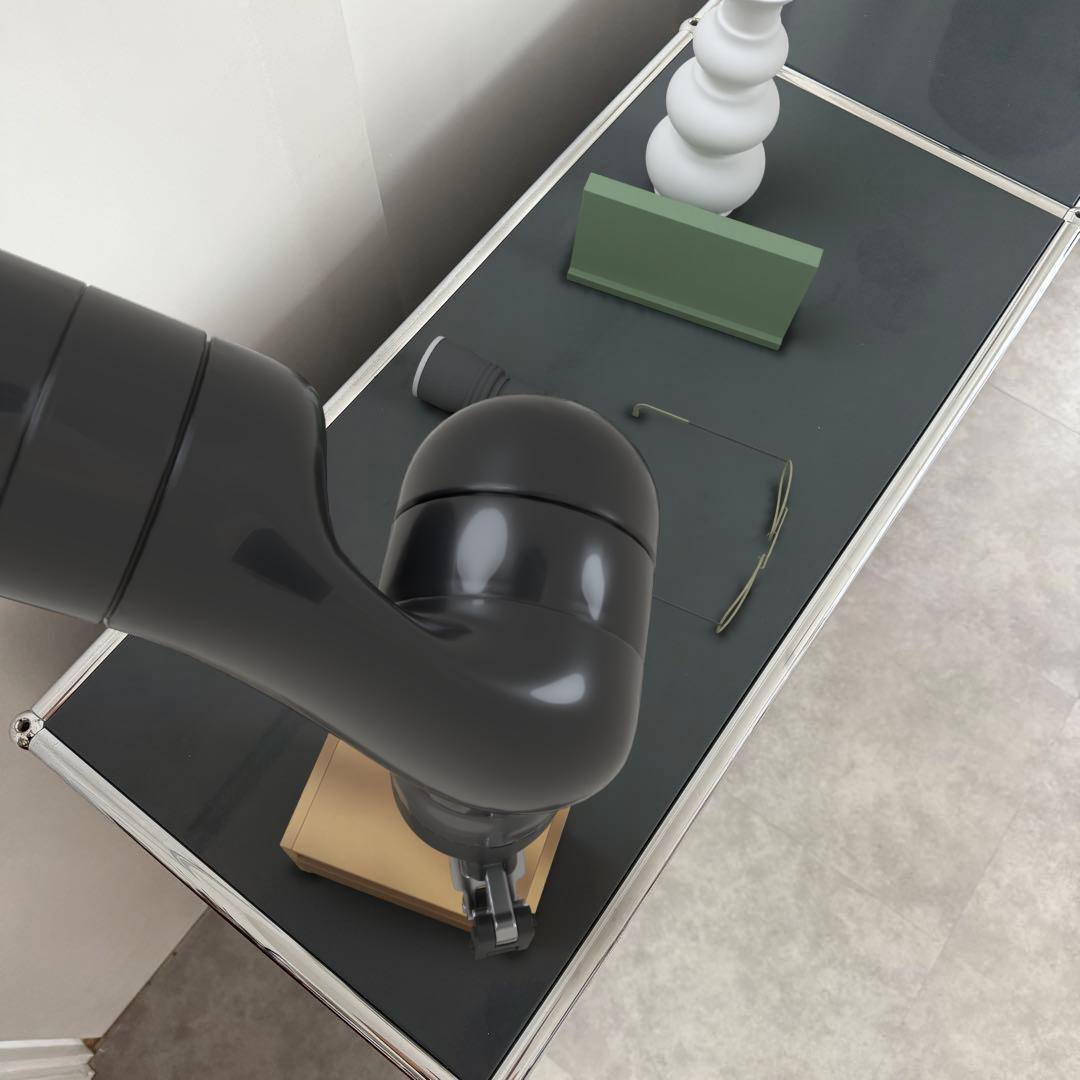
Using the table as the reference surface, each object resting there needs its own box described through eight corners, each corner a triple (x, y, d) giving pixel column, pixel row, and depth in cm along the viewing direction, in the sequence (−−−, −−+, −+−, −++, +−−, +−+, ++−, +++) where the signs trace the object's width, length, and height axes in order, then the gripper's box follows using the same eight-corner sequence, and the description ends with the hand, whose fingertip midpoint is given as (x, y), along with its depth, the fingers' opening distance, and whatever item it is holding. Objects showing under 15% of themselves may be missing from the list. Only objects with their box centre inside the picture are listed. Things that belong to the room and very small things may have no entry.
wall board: (777, 351, 98) (816, 274, 88) (566, 279, 99) (580, 195, 89) (790, 308, 100) (830, 228, 90) (583, 238, 101) (599, 152, 91)
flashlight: (603, 434, 93) (613, 401, 88) (577, 485, 91) (585, 454, 86) (442, 359, 95) (443, 323, 90) (412, 407, 93) (411, 372, 88)
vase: (653, 246, 102) (715, 20, 79) (625, 155, 106) (676, -84, 83) (765, 233, 104) (857, 8, 81) (733, 144, 108) (812, -93, 85)
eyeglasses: (727, 646, 86) (743, 625, 82) (554, 568, 88) (561, 542, 83) (793, 484, 93) (811, 456, 88) (631, 413, 94) (641, 382, 90)
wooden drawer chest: (513, 953, 76) (525, 942, 66) (298, 871, 77) (277, 848, 67) (556, 825, 80) (573, 796, 70) (351, 749, 81) (338, 709, 71)
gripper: (361, 597, 45) (377, 703, 60) (419, 957, 40) (421, 977, 55) (538, 568, 47) (511, 678, 61) (618, 914, 41) (567, 944, 56)
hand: (468, 819), depth 58 cm, fingers open, 8 cm apart
